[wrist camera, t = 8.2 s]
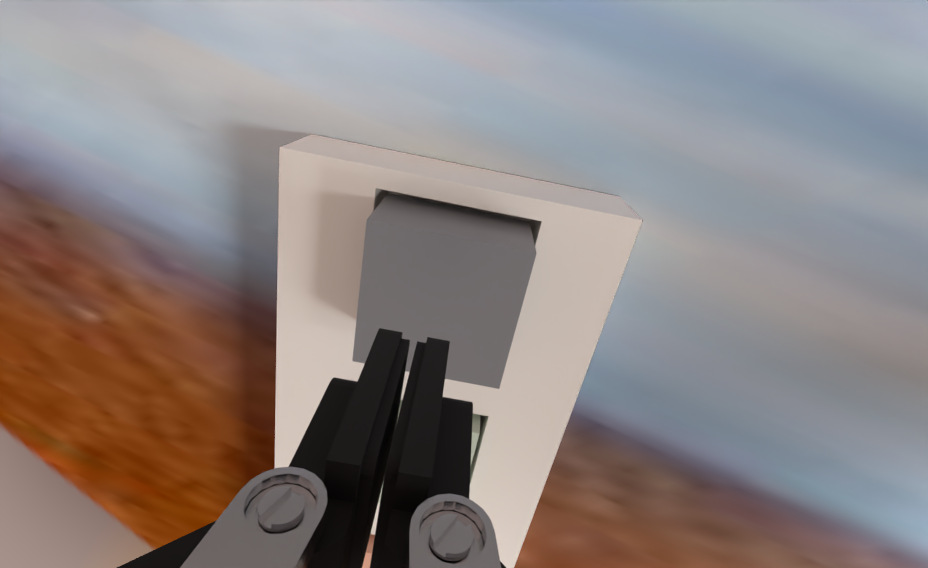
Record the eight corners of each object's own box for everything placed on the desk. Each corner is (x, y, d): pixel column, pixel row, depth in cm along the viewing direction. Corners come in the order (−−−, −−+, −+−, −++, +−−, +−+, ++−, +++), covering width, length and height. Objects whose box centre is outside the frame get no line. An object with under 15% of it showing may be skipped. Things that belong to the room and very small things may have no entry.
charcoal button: (529, 221, 16) (536, 253, 14) (498, 341, 18) (499, 388, 16) (387, 193, 16) (366, 219, 13) (373, 316, 18) (352, 361, 16)
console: (620, 196, 18) (642, 220, 15) (490, 578, 28) (489, 632, 26) (312, 134, 18) (279, 147, 15) (294, 543, 28) (272, 594, 25)
